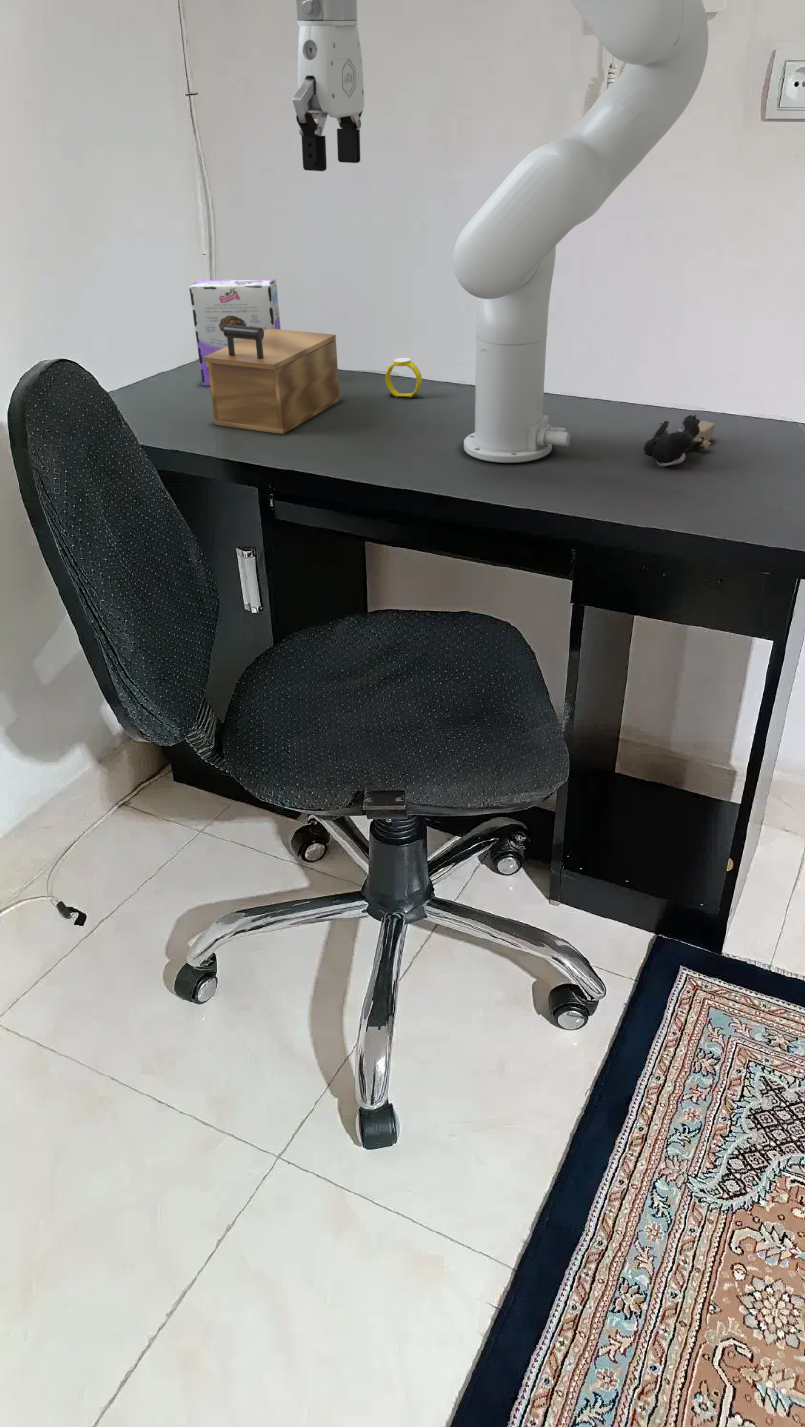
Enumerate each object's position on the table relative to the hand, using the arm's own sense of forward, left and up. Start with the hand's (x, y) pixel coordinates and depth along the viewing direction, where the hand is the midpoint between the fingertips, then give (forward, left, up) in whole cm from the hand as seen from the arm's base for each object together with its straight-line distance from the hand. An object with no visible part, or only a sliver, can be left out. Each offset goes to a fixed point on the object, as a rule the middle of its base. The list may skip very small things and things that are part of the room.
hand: (332, 166), depth 139 cm
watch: (-1, -18, -36) cm, 40 cm away
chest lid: (+14, -3, -26) cm, 30 cm away
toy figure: (-49, -7, -36) cm, 61 cm away
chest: (+14, -3, -36) cm, 39 cm away
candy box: (+29, -16, -36) cm, 49 cm away
